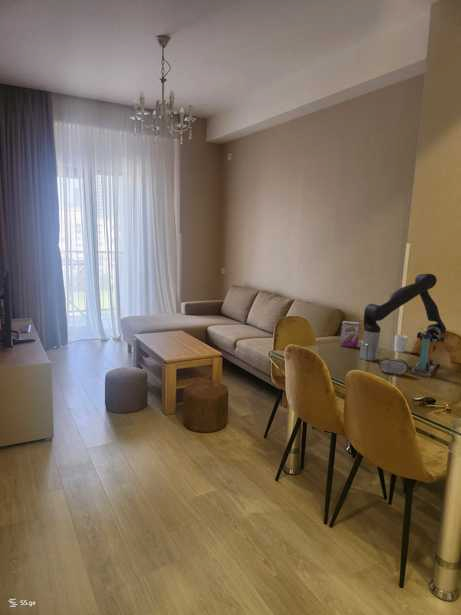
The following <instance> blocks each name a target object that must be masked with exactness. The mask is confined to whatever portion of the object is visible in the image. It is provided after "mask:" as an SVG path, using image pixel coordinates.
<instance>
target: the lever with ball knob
mask: <svg viewBox="0 0 461 615" xmlns="http://www.w3.org/2000/svg"><path fill="white" fill-rule="evenodd" d="M422 334H423V335H422V337H423V339H422V342H421V348H420V353H419V359H420V360H419V359H418V360H419V365H418V366H417V367H416V369H415V371H416V372H421V373H426V374H427V372H428V371H429V368H430V367H429V363H426V362H427V357H428V356H429V355H428V354H429V348H430V342H431V341H430V338H431V334H430V333H429V332H426V331H425V332H423V333H422Z"/></svg>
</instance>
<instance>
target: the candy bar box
mask: <svg viewBox="0 0 461 615" xmlns="http://www.w3.org/2000/svg"><path fill="white" fill-rule="evenodd" d="M341 323H342V324H341V330H340V331H341V333H340V341H339V346H340V347H348V348H354V349H355V348H356V349H357V348H358V342H359V333H360V327H361V326H360V325H361V323H360V322H356V321H355V322H354V321H348V320H347V321H346V320H343V321H342V322H341Z"/></svg>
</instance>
